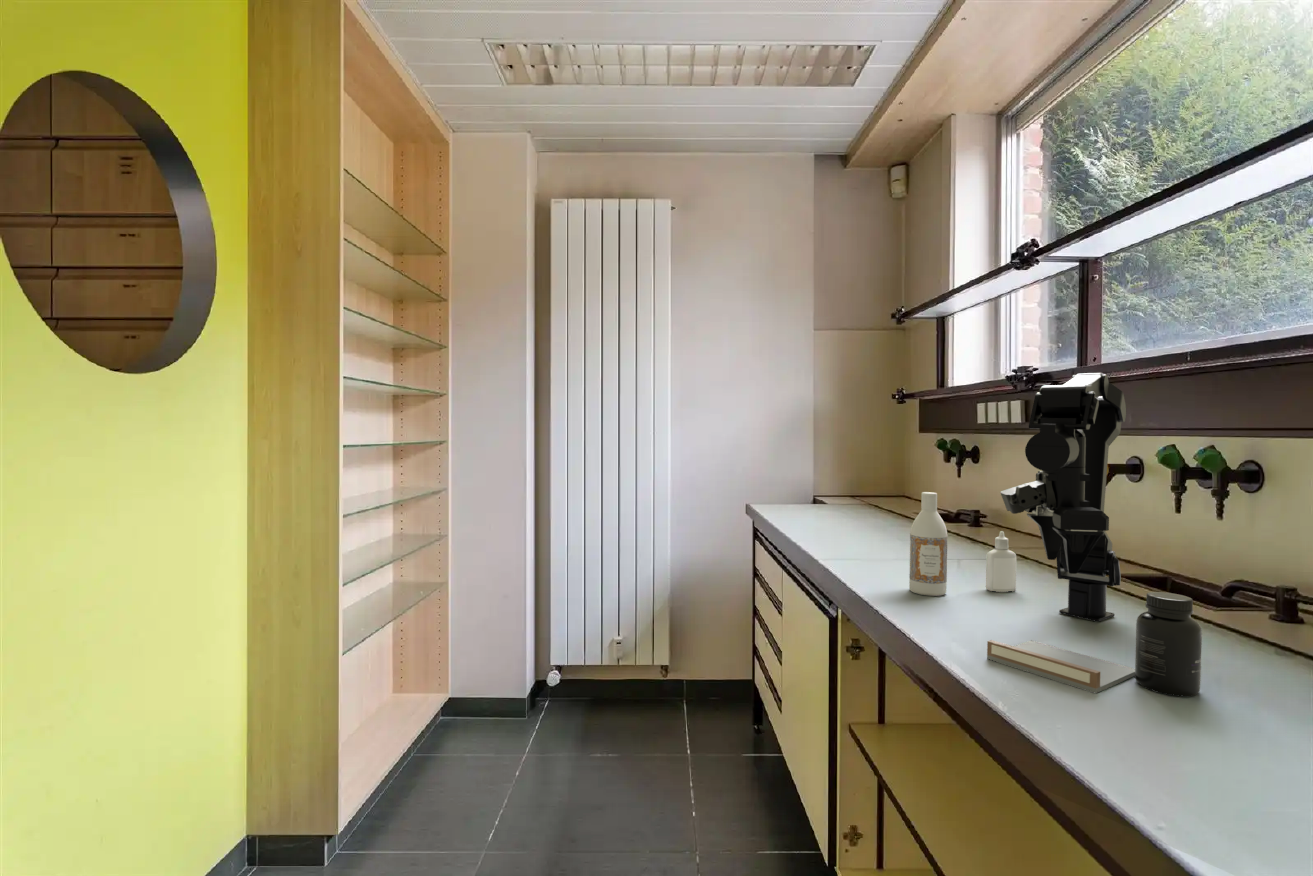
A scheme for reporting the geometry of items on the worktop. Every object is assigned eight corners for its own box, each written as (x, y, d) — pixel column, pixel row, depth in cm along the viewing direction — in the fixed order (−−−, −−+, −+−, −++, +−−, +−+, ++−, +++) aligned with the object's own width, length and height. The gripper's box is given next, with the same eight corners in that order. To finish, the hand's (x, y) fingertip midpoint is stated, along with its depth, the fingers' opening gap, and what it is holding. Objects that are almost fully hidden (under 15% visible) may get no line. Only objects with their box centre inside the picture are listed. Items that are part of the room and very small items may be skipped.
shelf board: (1031, 644, 105) (1031, 627, 105) (1138, 674, 92) (1139, 655, 92) (986, 659, 98) (986, 641, 98) (1095, 693, 86) (1095, 673, 86)
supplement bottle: (1212, 700, 84) (1215, 604, 84) (1150, 695, 85) (1153, 601, 85) (1181, 679, 91) (1184, 590, 90) (1124, 675, 92) (1127, 587, 92)
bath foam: (910, 595, 133) (911, 493, 133) (908, 586, 140) (909, 490, 139) (948, 598, 131) (950, 495, 131) (944, 589, 138) (946, 491, 137)
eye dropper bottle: (1017, 594, 134) (1019, 534, 134) (986, 591, 136) (987, 532, 136) (1014, 589, 139) (1015, 530, 138) (984, 586, 141) (985, 529, 140)
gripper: (991, 460, 115) (990, 551, 116) (1024, 471, 97) (1022, 578, 98) (1063, 461, 113) (1062, 554, 114) (1111, 472, 95) (1109, 582, 95)
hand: (1061, 566), depth 105 cm, fingers open, 9 cm apart
